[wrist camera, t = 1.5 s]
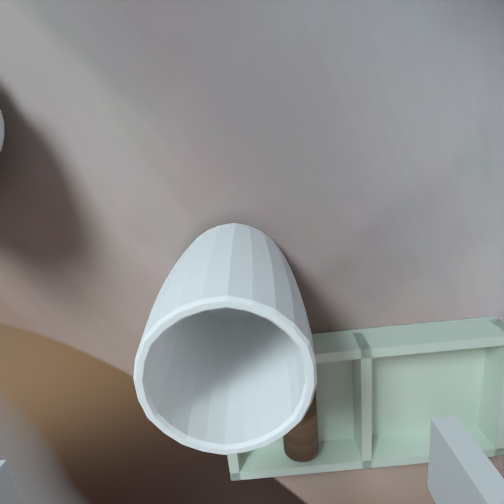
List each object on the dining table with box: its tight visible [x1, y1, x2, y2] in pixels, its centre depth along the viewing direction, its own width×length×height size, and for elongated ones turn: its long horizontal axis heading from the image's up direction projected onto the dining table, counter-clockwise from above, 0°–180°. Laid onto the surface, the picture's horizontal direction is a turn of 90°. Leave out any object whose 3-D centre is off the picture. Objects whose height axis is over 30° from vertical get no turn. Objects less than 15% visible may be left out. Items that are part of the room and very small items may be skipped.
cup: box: [133, 223, 317, 455], centre depth 22 cm, size 8×8×14 cm
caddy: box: [227, 316, 504, 481], centre depth 31 cm, size 12×23×3 cm, turn 96°
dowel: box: [283, 388, 319, 462], centre depth 31 cm, size 8×3×3 cm, turn 6°
